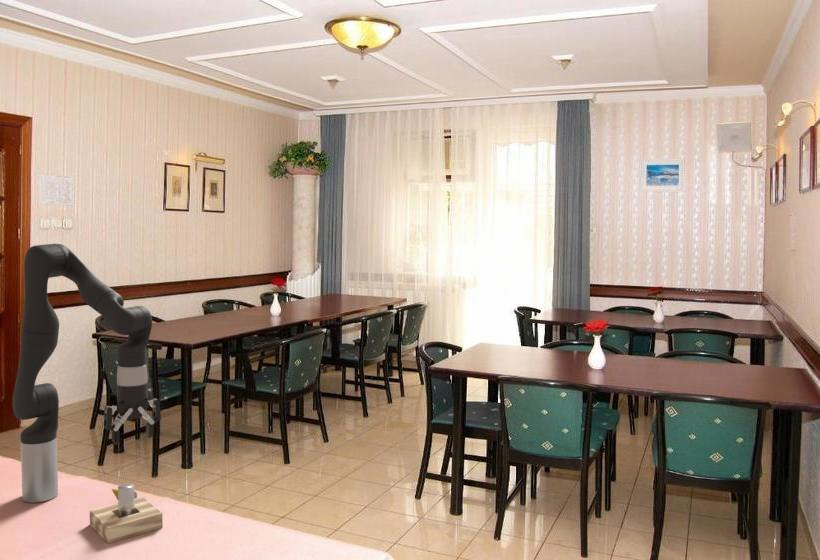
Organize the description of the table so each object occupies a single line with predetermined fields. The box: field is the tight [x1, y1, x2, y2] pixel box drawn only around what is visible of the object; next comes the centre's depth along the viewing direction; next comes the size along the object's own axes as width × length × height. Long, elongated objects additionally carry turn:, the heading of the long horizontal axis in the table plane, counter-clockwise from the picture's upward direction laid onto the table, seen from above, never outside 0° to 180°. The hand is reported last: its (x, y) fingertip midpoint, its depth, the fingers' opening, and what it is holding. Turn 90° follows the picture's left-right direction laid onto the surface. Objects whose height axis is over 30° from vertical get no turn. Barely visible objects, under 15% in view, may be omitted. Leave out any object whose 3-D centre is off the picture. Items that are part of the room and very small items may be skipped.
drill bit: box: [111, 488, 138, 500], centre depth 193 cm, size 5×5×10 cm
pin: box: [117, 482, 135, 518], centre depth 182 cm, size 4×4×10 cm
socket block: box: [89, 496, 164, 544], centre depth 182 cm, size 14×14×4 cm
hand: (132, 440), depth 183 cm, fingers open, 8 cm apart
